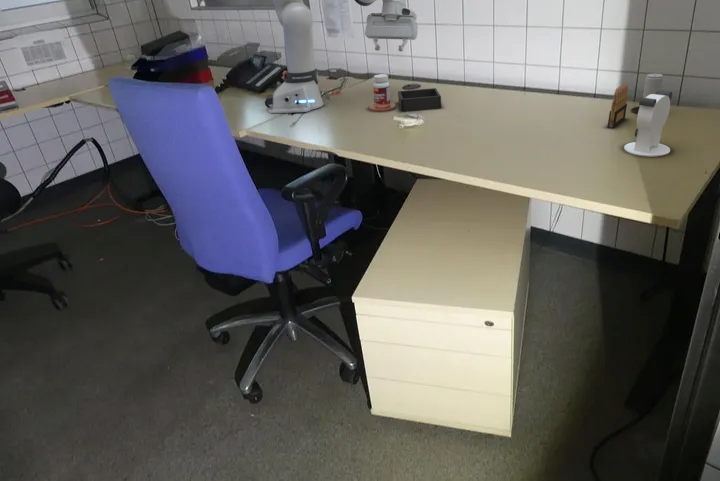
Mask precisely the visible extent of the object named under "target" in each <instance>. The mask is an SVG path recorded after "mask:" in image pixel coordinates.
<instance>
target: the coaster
mask: <svg viewBox="0 0 720 481" xmlns="http://www.w3.org/2000/svg"><path fill="white" fill-rule="evenodd" d="M368 108H369V111H371V112H375V113H376V112H377V113H379V112H381V113H382V112H389V111H391V110H392V111H393V110H395V109H396V104H395V103H393V102H390V106H388V107H384V108H378V107H375V105H374V103H372V104H370V105H369V107H368Z"/></svg>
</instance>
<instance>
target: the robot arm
mask: <svg viewBox="0 0 720 481" xmlns="http://www.w3.org/2000/svg"><path fill="white" fill-rule="evenodd" d="M354 1H355V3H356V4H358V5H360V6H362V7H368V6H370V5H372V4H374V3H375V2H376V1H377V0H354ZM381 1H382V6H381V7H382V8H381V12H371V13H370V14H368V15H367V16H366V26H365V30H364V35H365V37H366V38H367V39H372V41H373V42H374V51H380V50H381V45H380V44H378V42H379V40H401V42H402V43H401V44H400V45H398V52H404V48H405V46H406V45H407V43H408V41H409V40H410V41H412V40H413V41H415V40H416V39H417V38H418V33H419V29H418V28H419V27H418V26H419V25H418V22H417V18H418V16H417V14H416V12H415V11H414V10H413V9H410V8H408V7H407V3H406V2H407V1H406V0H381ZM271 2H272V5H273V7H274V10H275V13H276V16H277V19H278V21H279V24H280V25H281V27H282V30H283V39H284V40H283V41H284V55H285V56H284V57H285V62H286V63H285V64H286V69H287V70H283V72H282V79H283V82H282V83H281V84H280V85H279V86H278V87H277V89H275V90H274V92H273V94H267V95H266V98H265V100H264V105H265V106H266V108H267V112H268V113H270V114H289V113H290V114H291V113H307V112H310V111H313V110H315V109H320V108H321V107H323V106H324V105H325V103H324V101H323V100H324V99H323V98H322V95H321V91H320V86H319V73H318V69H317V68H316V67H317V66H316V61H315V60H316V59H315V51H314V25H313V24H314V23H313V15H312V14H313V13H312V11H311V9H310V8H309V7H308V6H307V5H306V4H305V3H304V0H271Z"/></svg>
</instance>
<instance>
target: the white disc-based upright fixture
mask: <svg viewBox="0 0 720 481" xmlns="http://www.w3.org/2000/svg"><path fill="white" fill-rule="evenodd" d="M672 98H673V91H671V90H670V91H669V90H662V89H661V90H657V92H656V94H650V95H648V96H647V97H646V98H643V96H642V97H640V99H639V103H638V105H639V108H638V110H637V113H636V128H635V131H634V137H635V141H632V142H629V143H626V144H625V145H624V146H623V149H624V151H625V152H627V153H629V154H631V155H634V156H639V157H649V158H650V157H651V158H654V157H657V158H658V157H663V156H667V155H668V154H670V152H671V148H670V146H668V145H666V144H663V143H661V142H660V141H661V136H662V133H663V128H664V126H665V125H666V122H667V120H668V118H669V114H670V110H671V100H672Z"/></svg>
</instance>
